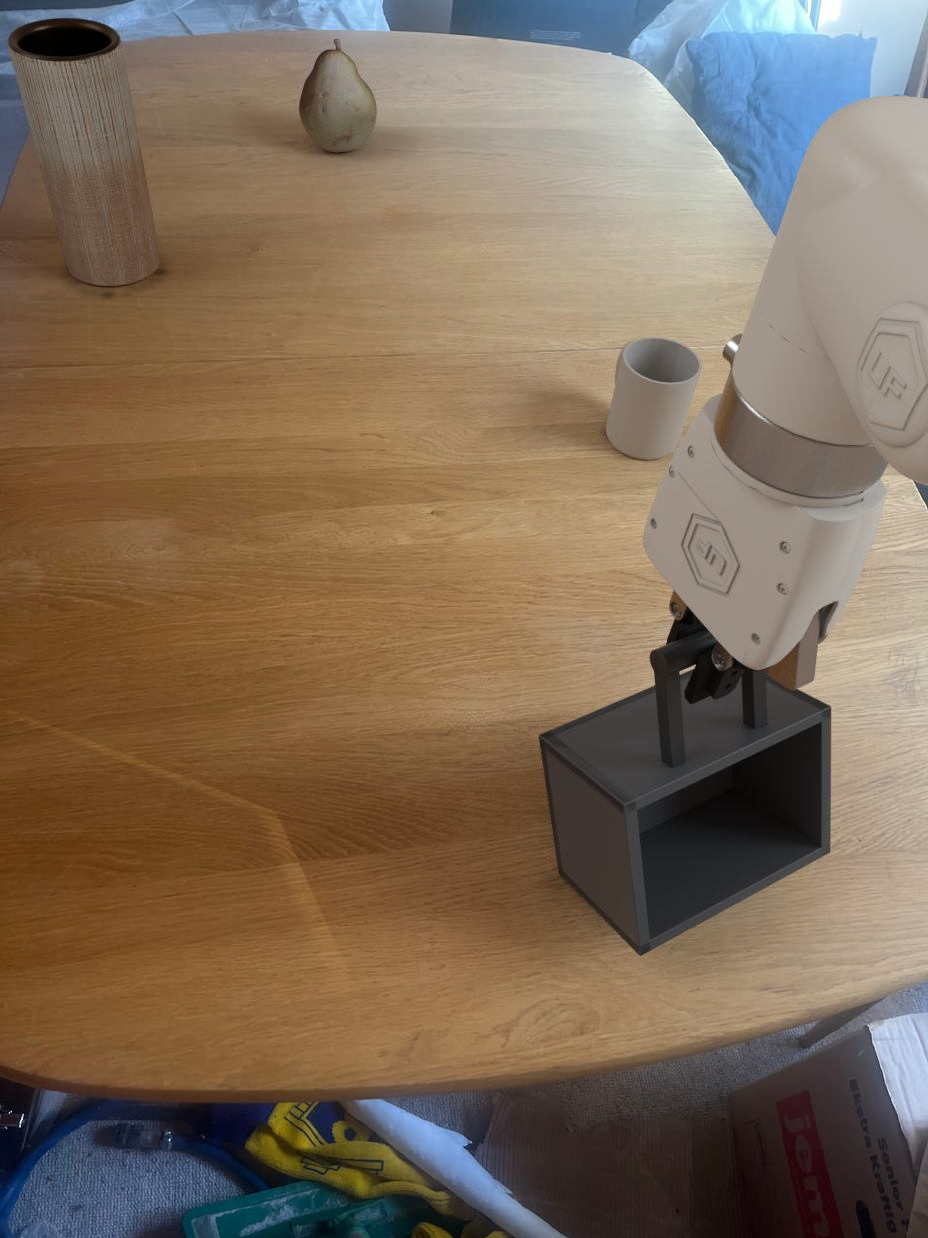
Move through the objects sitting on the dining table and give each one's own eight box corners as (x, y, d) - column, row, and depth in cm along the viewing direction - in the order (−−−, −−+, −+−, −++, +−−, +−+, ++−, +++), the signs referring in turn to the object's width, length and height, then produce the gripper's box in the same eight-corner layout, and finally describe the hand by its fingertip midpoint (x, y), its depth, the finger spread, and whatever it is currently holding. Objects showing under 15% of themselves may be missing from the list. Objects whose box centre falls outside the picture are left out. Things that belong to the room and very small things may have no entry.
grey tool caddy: (734, 787, 69) (830, 852, 61) (558, 874, 64) (640, 957, 56) (724, 553, 61) (832, 594, 54) (522, 629, 56) (611, 687, 48)
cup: (625, 468, 90) (646, 390, 84) (580, 404, 96) (595, 326, 89) (691, 454, 93) (716, 376, 86) (643, 392, 98) (663, 315, 91)
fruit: (360, 125, 133) (359, 28, 123) (391, 154, 128) (392, 56, 118) (291, 136, 129) (285, 38, 120) (320, 167, 124) (316, 67, 115)
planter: (101, 231, 110) (50, 8, 93) (178, 253, 109) (141, 30, 91) (47, 273, 104) (-18, 43, 87) (128, 297, 102) (78, 66, 85)
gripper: (630, 341, 44) (567, 602, 58) (870, 574, 35) (728, 813, 50) (757, 307, 47) (667, 565, 61) (1008, 516, 38) (836, 759, 52)
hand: (695, 675), depth 55 cm, fingers closed on grey tool caddy
